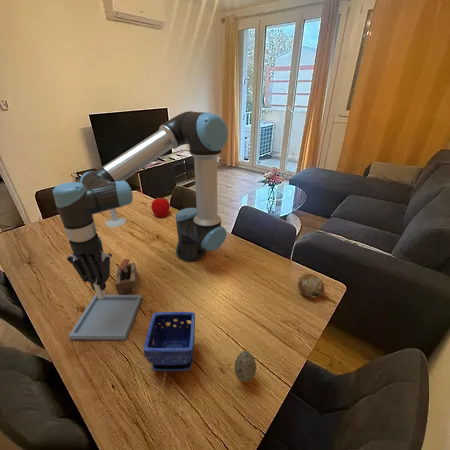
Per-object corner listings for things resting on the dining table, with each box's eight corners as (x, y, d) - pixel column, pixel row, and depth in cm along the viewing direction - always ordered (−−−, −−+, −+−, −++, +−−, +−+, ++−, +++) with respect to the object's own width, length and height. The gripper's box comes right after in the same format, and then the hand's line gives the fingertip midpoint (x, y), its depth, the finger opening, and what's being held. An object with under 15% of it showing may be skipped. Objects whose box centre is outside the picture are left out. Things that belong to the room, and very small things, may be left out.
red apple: (158, 222, 152) (155, 203, 146) (150, 216, 159) (147, 197, 153) (174, 216, 159) (172, 198, 153) (165, 211, 166) (163, 193, 160)
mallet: (134, 276, 107) (130, 258, 103) (129, 286, 102) (124, 268, 97) (127, 276, 107) (123, 258, 103) (122, 286, 102) (117, 267, 97)
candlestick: (105, 220, 154) (93, 173, 140) (127, 217, 157) (117, 171, 143) (103, 230, 143) (90, 180, 129) (126, 226, 147) (116, 178, 132)
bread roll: (301, 302, 98) (309, 296, 91) (291, 278, 103) (298, 271, 97) (322, 298, 100) (332, 291, 94) (312, 274, 106) (320, 267, 99)
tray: (142, 299, 96) (141, 295, 95) (125, 340, 80) (124, 335, 79) (96, 299, 96) (95, 294, 95) (70, 340, 80) (68, 335, 79)
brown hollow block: (137, 292, 99) (134, 280, 96) (118, 295, 97) (115, 284, 94) (137, 273, 109) (134, 262, 106) (120, 276, 107) (117, 265, 104)
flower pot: (198, 335, 81) (196, 310, 76) (195, 376, 70) (192, 350, 64) (157, 337, 81) (152, 311, 75) (148, 378, 69) (141, 351, 64)
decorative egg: (254, 365, 72) (256, 343, 68) (255, 387, 67) (258, 365, 62) (234, 365, 73) (234, 343, 68) (234, 386, 67) (234, 364, 63)
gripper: (110, 229, 75) (125, 288, 86) (68, 229, 75) (88, 288, 86) (99, 243, 68) (117, 304, 79) (52, 242, 68) (76, 304, 79)
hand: (102, 296), depth 83 cm, fingers closed
